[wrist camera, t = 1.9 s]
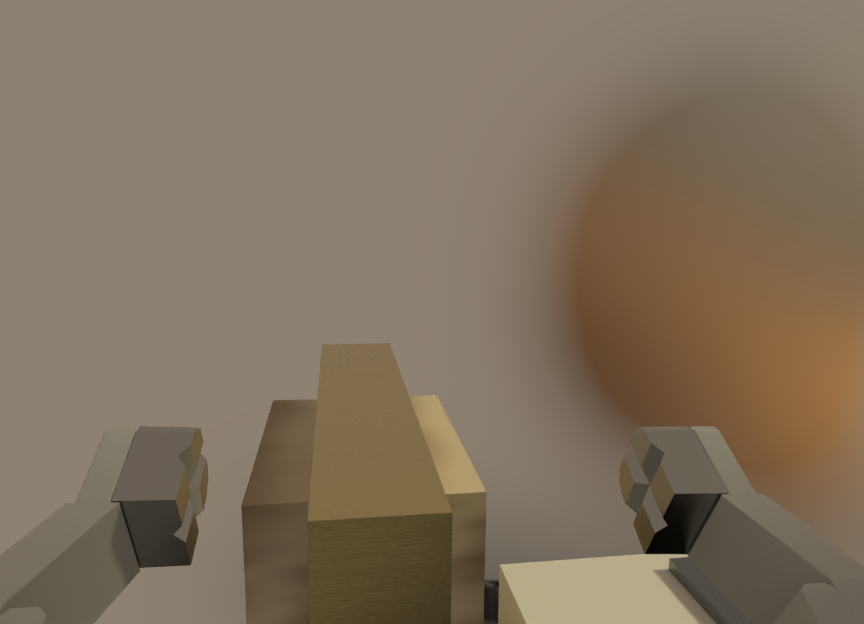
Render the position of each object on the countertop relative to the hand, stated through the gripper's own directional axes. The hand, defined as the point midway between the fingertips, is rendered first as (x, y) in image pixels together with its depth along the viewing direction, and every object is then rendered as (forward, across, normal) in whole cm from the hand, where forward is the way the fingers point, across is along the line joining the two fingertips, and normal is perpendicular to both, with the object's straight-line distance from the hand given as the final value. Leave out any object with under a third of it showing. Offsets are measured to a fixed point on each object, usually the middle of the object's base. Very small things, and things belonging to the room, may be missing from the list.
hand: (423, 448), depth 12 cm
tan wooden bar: (+11, +1, +14) cm, 18 cm away
